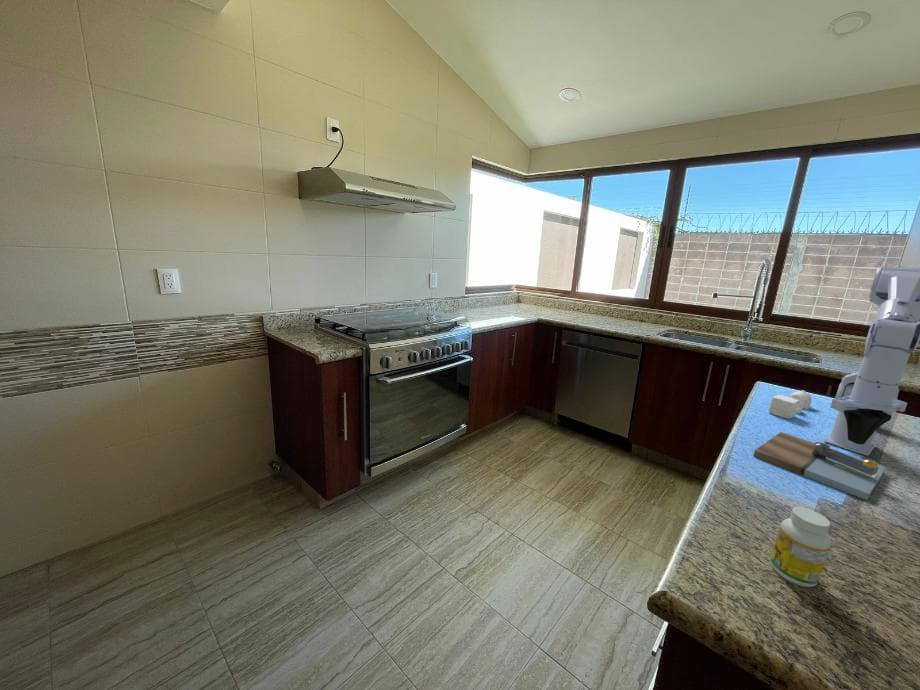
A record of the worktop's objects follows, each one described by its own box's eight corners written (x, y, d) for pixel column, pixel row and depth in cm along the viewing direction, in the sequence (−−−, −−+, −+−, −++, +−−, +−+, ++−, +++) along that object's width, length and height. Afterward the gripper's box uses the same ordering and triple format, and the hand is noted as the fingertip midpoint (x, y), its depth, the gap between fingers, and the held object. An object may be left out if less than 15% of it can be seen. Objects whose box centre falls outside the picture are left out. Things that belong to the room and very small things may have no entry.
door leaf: (826, 453, 90) (828, 446, 90) (883, 473, 83) (886, 466, 82) (803, 475, 80) (805, 468, 80) (866, 500, 73) (869, 493, 72)
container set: (789, 420, 108) (794, 403, 107) (767, 413, 113) (772, 396, 111) (812, 407, 119) (817, 391, 118) (791, 401, 123) (796, 386, 122)
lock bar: (809, 453, 86) (813, 440, 85) (815, 451, 87) (819, 439, 86) (869, 479, 77) (874, 465, 76) (875, 476, 78) (880, 463, 77)
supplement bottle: (818, 595, 51) (839, 536, 49) (768, 573, 54) (786, 516, 52) (815, 571, 55) (835, 515, 53) (769, 551, 58) (786, 498, 56)
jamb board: (779, 437, 97) (781, 431, 97) (826, 453, 90) (828, 447, 90) (753, 455, 87) (755, 449, 87) (803, 475, 80) (805, 469, 80)
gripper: (867, 387, 70) (845, 452, 73) (935, 388, 71) (910, 451, 75) (828, 374, 77) (809, 434, 80) (891, 375, 78) (869, 434, 82)
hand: (855, 441), depth 78 cm, fingers closed
